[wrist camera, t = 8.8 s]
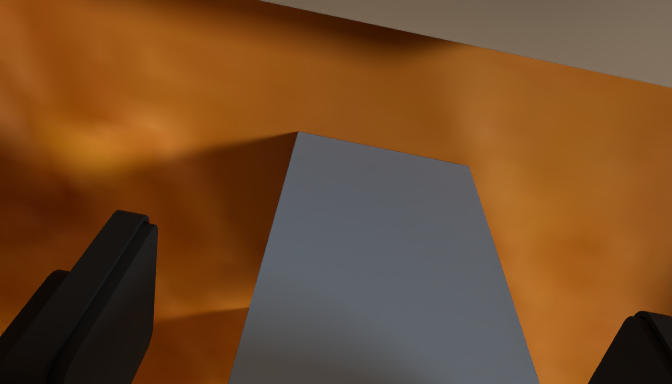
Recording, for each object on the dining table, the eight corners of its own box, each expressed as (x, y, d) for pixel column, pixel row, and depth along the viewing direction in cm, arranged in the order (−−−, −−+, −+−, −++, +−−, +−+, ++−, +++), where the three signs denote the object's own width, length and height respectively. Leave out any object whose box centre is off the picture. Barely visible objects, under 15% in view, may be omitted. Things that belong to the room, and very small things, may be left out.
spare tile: (298, 131, 16) (215, 428, 8) (468, 166, 17) (574, 492, 8) (289, 180, 17) (205, 500, 9) (452, 212, 17) (533, 555, 9)
